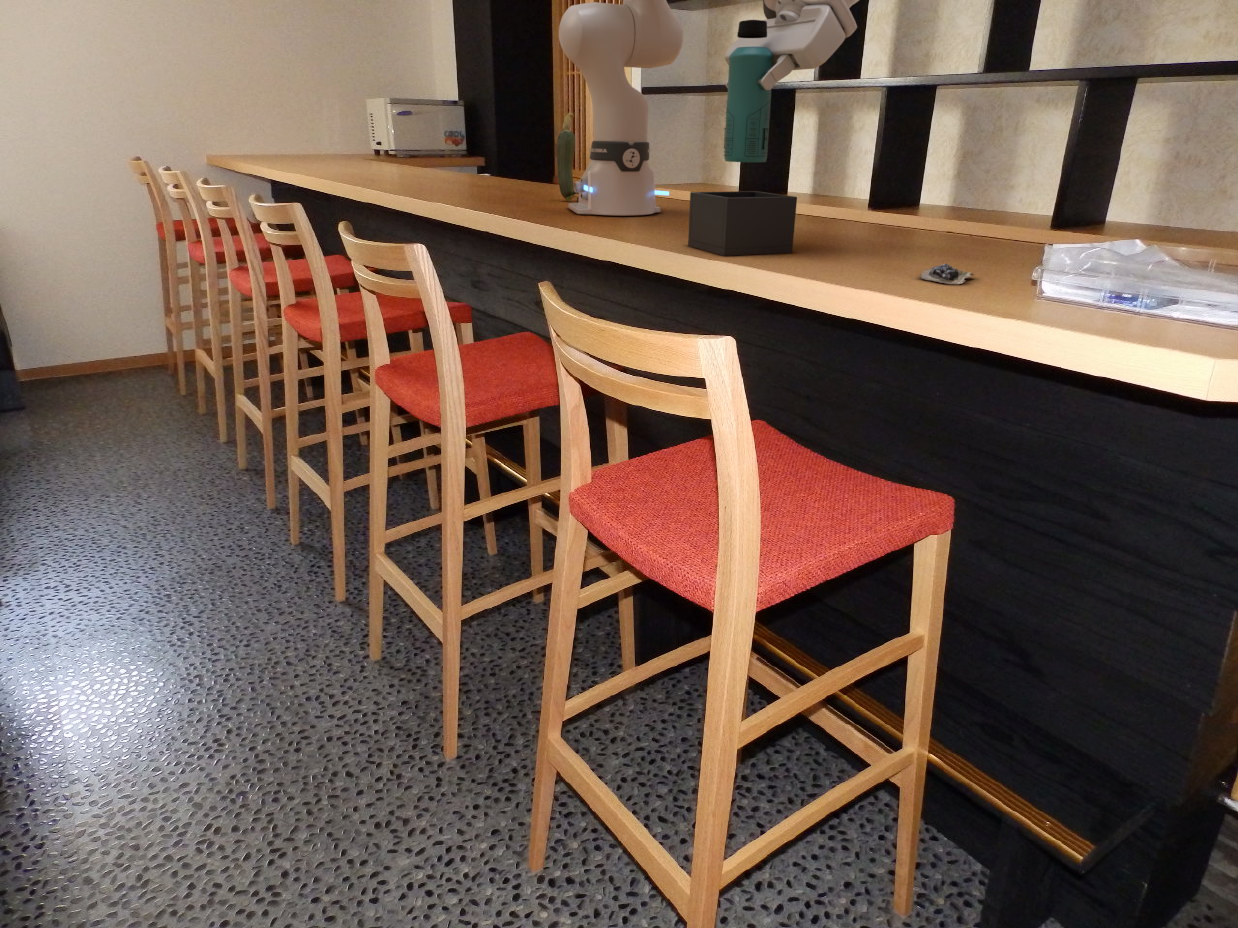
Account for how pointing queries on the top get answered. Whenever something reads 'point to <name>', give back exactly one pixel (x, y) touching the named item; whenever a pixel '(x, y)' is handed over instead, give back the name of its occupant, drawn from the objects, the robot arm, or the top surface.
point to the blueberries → (945, 274)
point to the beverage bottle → (748, 98)
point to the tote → (741, 222)
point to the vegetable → (566, 158)
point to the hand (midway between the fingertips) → (745, 87)
